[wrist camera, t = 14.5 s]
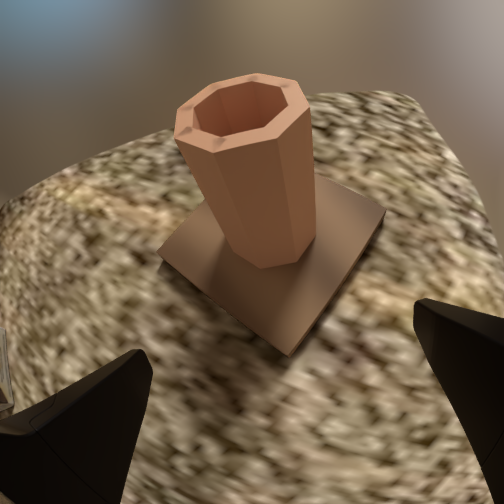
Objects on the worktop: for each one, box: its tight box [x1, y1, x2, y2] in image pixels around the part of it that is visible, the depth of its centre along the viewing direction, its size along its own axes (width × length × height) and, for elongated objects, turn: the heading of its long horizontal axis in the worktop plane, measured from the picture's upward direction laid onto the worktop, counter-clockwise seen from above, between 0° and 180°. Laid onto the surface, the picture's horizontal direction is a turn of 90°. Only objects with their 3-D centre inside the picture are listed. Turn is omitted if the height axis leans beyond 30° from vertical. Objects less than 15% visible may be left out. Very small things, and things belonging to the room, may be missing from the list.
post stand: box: [157, 173, 387, 358], centre depth 19 cm, size 12×12×5 cm
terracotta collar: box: [174, 73, 316, 269], centre depth 16 cm, size 6×6×10 cm
